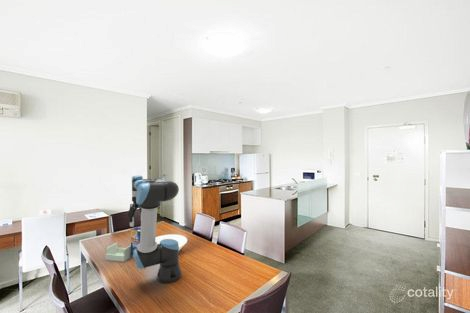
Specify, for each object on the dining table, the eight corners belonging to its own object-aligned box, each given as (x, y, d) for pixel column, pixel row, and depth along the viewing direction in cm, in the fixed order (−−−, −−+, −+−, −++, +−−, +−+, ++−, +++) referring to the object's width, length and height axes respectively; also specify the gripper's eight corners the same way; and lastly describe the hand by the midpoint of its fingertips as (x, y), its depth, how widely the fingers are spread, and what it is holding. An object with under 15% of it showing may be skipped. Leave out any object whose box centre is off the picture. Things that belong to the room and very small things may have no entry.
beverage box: (140, 261, 158) (140, 231, 158) (130, 257, 164) (130, 229, 164) (148, 257, 164) (147, 228, 164) (138, 254, 170) (138, 226, 170)
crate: (134, 254, 169) (134, 243, 169) (123, 262, 157) (123, 250, 157) (117, 252, 172) (117, 241, 172) (105, 260, 159) (105, 248, 159)
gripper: (142, 192, 176) (142, 218, 176) (121, 198, 151) (121, 228, 151) (150, 193, 174) (150, 218, 174) (131, 199, 150) (131, 229, 150)
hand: (137, 223), depth 163 cm, fingers open, 13 cm apart
